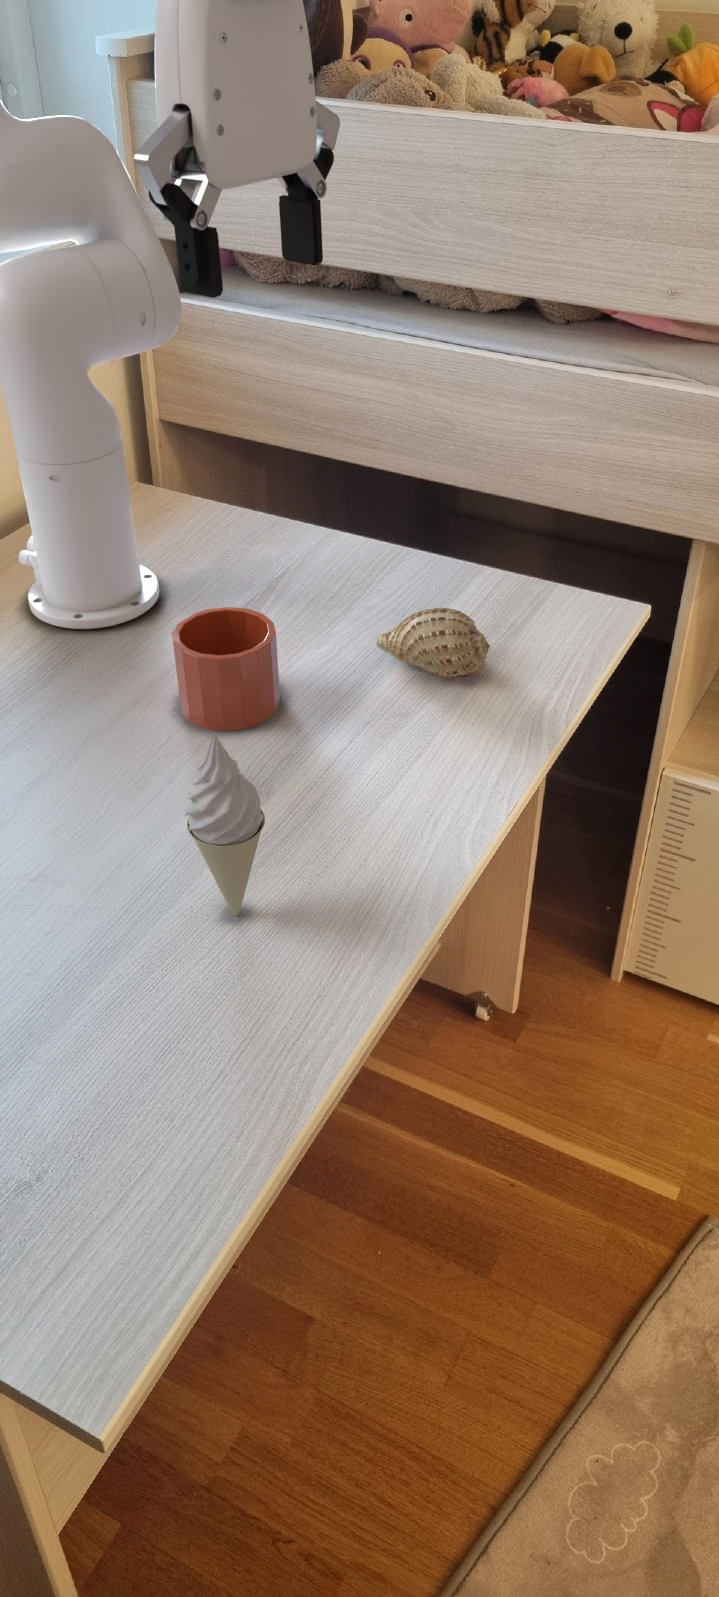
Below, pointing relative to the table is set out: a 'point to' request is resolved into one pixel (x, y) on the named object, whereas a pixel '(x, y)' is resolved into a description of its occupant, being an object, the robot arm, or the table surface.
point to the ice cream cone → (225, 822)
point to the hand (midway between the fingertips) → (254, 276)
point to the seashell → (438, 643)
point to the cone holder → (227, 668)
